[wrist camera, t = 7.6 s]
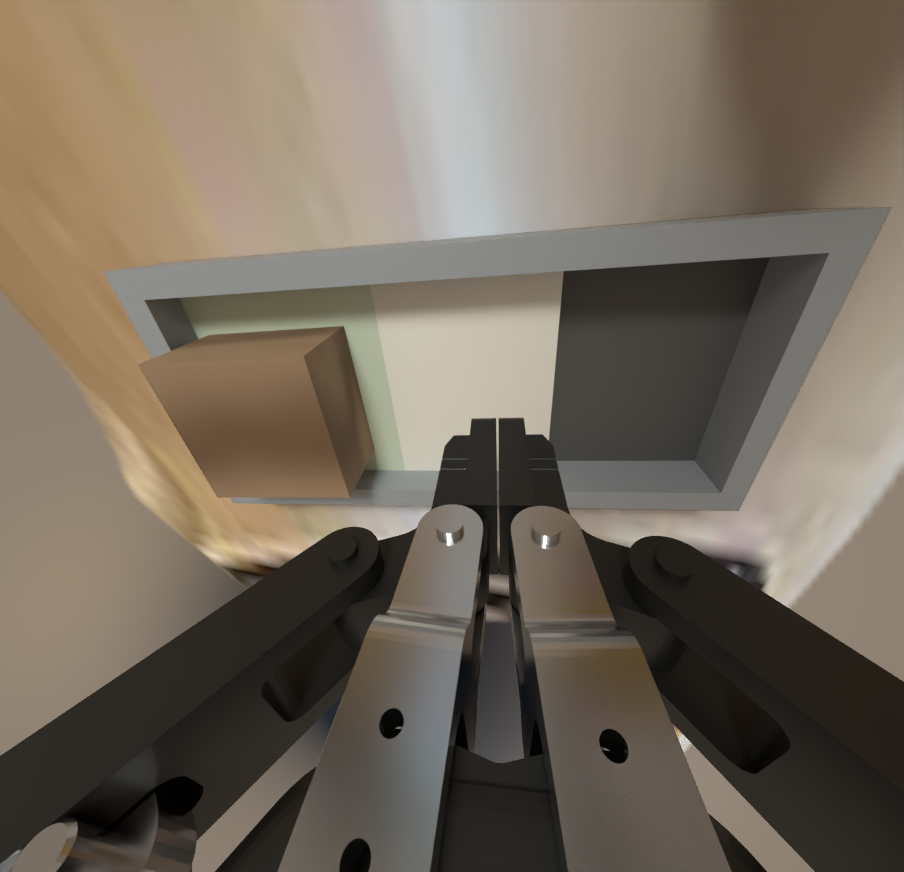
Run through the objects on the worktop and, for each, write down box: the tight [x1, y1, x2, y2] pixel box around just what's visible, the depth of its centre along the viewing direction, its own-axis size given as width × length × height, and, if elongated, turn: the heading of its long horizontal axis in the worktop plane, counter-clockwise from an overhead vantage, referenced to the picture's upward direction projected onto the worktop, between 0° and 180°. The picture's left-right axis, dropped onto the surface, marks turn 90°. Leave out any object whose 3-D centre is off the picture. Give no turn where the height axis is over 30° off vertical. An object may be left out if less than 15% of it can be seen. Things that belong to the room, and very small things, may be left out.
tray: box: [104, 207, 892, 511], centre depth 15 cm, size 11×24×2 cm, turn 94°
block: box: [138, 326, 375, 498], centre depth 14 cm, size 6×6×4 cm
